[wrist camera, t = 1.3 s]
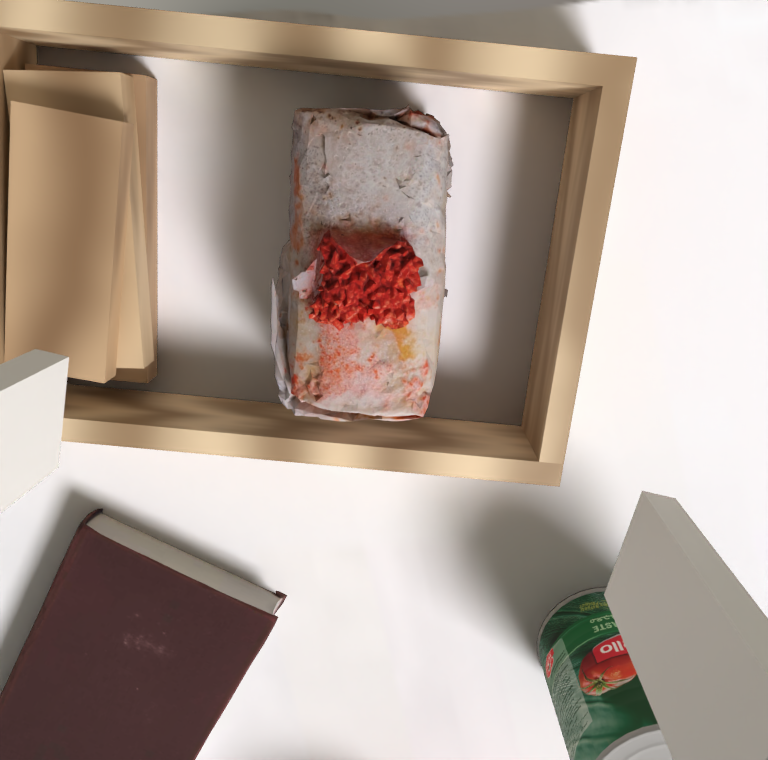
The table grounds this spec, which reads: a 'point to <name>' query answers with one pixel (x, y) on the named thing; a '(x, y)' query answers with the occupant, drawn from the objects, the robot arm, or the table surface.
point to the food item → (362, 264)
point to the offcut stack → (83, 220)
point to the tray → (377, 61)
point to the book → (131, 651)
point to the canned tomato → (596, 684)
